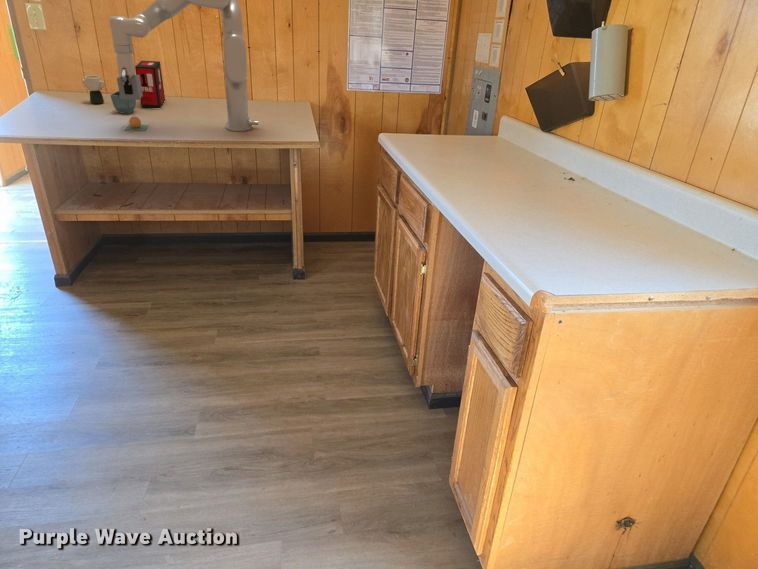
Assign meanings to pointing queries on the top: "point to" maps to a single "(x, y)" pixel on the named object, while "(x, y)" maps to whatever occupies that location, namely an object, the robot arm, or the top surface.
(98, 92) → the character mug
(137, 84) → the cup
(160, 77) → the cleaning product box
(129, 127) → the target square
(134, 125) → the ball
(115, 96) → the flower pot
